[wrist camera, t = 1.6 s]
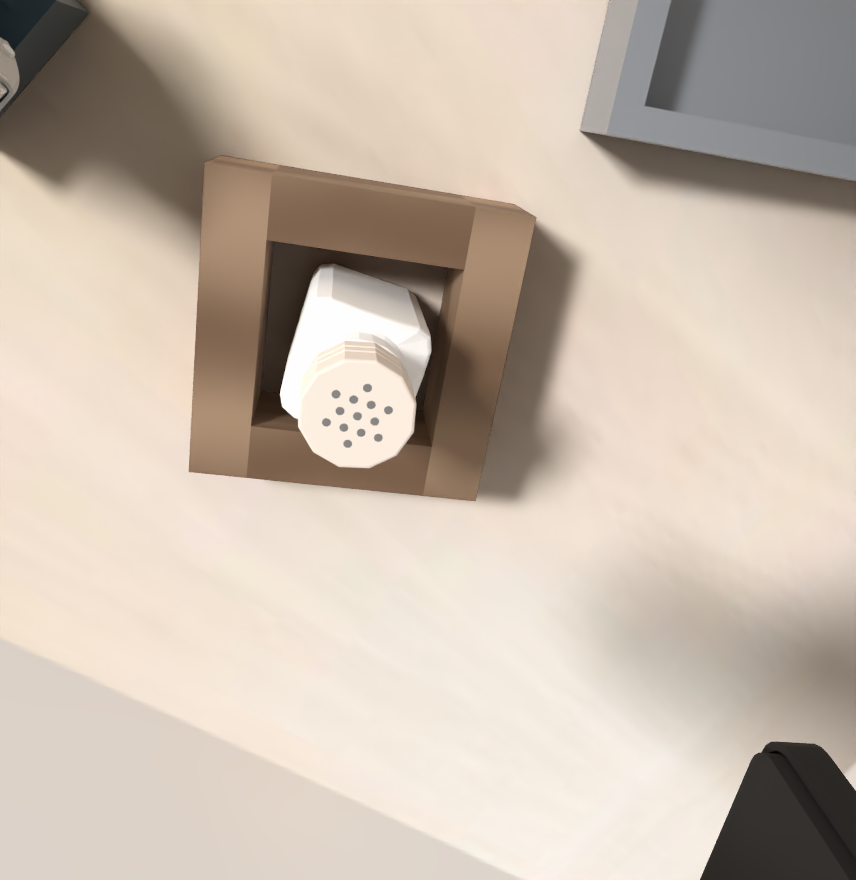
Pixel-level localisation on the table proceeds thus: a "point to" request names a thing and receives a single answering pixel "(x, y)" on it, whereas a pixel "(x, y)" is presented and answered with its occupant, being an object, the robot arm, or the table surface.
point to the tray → (731, 80)
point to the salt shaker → (356, 367)
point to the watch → (32, 39)
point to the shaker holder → (368, 233)
